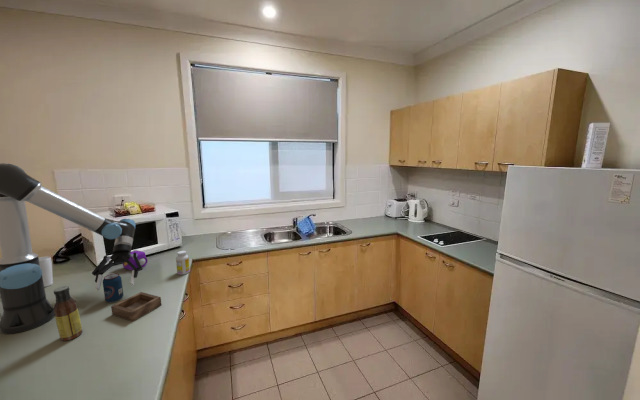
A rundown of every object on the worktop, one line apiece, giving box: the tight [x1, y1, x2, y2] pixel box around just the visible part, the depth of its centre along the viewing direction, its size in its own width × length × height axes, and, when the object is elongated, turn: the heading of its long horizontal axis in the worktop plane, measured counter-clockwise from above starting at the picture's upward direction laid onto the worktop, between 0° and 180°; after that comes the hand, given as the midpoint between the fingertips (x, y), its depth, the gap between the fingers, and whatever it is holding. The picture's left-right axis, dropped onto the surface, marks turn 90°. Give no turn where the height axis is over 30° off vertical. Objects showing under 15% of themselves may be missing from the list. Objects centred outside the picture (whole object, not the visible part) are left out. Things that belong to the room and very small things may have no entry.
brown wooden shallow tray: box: [110, 291, 162, 322], centre depth 115 cm, size 13×13×4 cm
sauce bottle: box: [53, 285, 83, 342], centre depth 96 cm, size 6×6×20 cm
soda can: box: [102, 272, 124, 304], centre depth 123 cm, size 7×7×12 cm
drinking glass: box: [38, 256, 54, 288], centre depth 136 cm, size 7×7×15 cm
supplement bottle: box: [175, 250, 191, 276], centre depth 152 cm, size 7×7×13 cm
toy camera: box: [122, 249, 148, 271], centre depth 159 cm, size 11×14×10 cm
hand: (115, 286), depth 123 cm, fingers open, 13 cm apart
